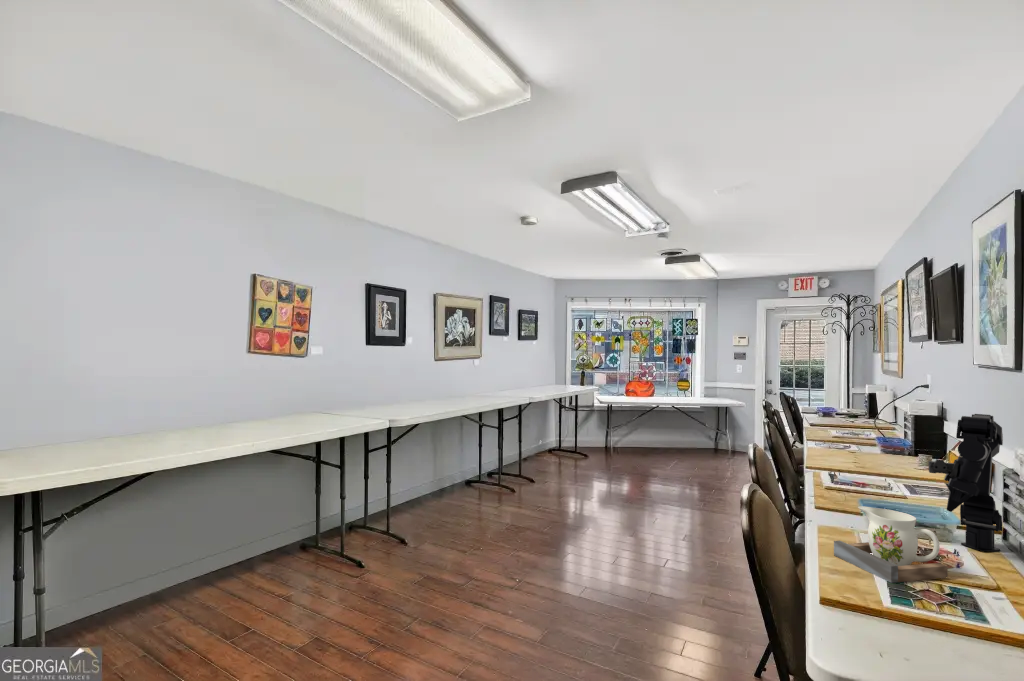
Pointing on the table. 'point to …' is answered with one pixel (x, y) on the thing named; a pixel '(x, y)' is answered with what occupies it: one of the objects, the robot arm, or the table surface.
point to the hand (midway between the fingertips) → (948, 510)
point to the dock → (886, 564)
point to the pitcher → (896, 536)
